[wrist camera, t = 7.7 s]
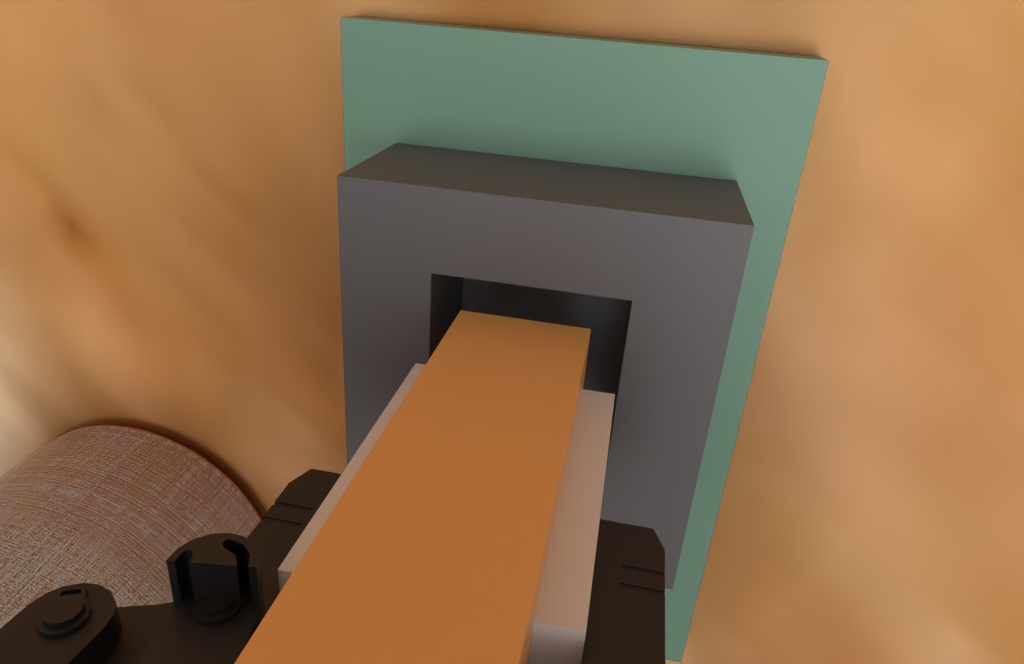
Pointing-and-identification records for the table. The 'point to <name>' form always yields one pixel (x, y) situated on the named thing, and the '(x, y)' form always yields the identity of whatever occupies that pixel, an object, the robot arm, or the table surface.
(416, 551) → the plug
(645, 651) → the robot arm
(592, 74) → the board
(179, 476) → the planter
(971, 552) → the table surface
